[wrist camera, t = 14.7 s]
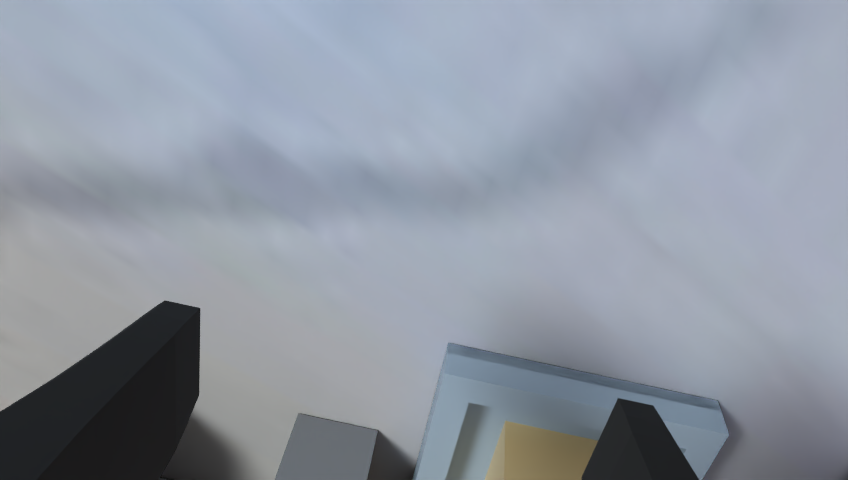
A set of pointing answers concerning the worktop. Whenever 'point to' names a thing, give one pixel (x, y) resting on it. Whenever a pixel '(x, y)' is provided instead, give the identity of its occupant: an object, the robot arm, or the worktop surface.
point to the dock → (326, 451)
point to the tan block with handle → (539, 454)
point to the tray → (544, 411)
